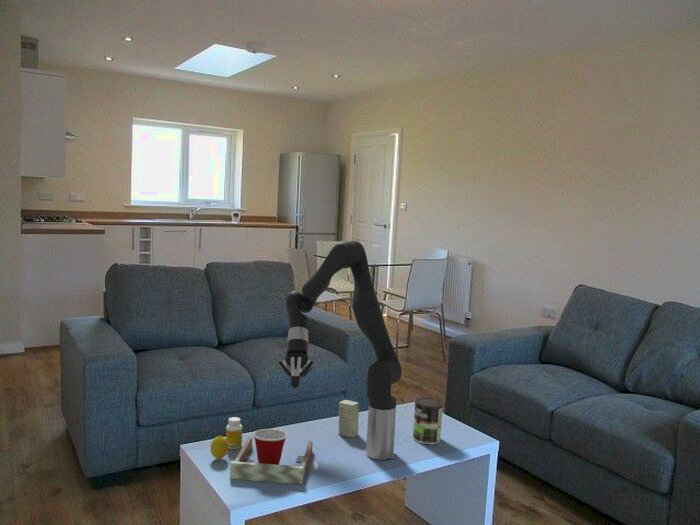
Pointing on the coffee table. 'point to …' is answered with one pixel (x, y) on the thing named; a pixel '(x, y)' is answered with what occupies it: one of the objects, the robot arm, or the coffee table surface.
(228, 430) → the supplement bottle
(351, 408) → the skincare box
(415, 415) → the coffee can
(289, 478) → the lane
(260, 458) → the plastic cup
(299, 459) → the pads
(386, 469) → the coffee table surface
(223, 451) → the lemon
